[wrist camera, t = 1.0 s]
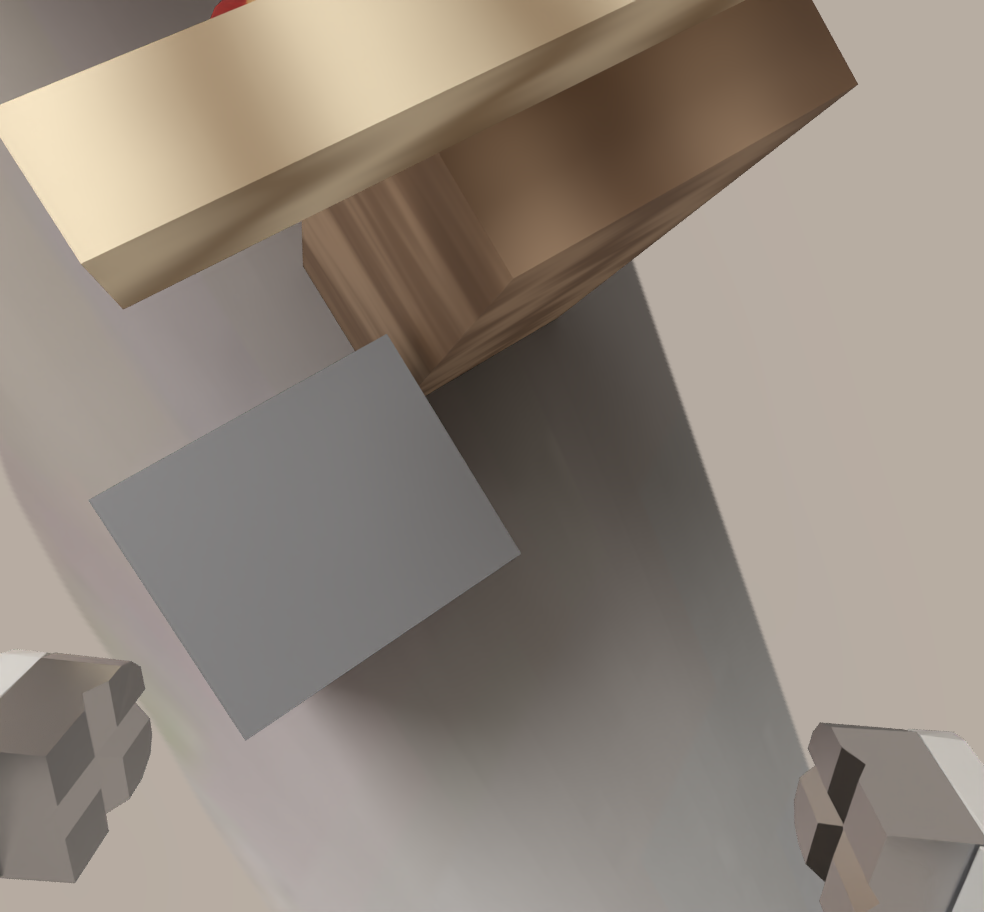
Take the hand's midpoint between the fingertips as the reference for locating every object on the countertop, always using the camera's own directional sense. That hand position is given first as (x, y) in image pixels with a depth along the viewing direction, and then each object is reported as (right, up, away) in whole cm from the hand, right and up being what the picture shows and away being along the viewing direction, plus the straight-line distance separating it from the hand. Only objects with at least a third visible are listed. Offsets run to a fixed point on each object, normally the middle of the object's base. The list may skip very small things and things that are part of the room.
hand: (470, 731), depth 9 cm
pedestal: (-3, +13, +35) cm, 38 cm away
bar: (0, +13, +9) cm, 16 cm away
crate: (-10, 0, +33) cm, 34 cm away
